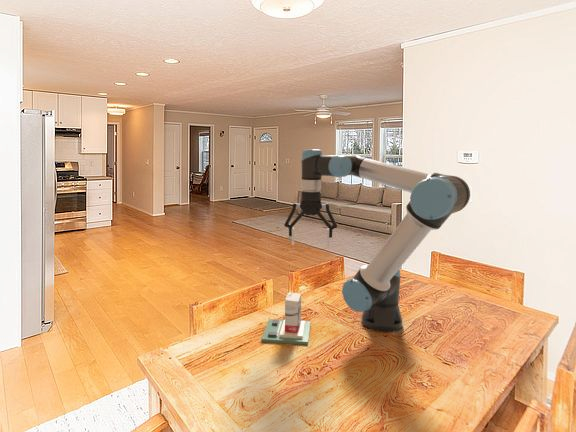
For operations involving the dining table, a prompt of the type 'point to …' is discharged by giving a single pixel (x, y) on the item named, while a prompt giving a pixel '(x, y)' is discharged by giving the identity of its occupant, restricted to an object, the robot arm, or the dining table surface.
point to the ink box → (292, 312)
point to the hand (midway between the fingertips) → (310, 245)
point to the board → (285, 333)
